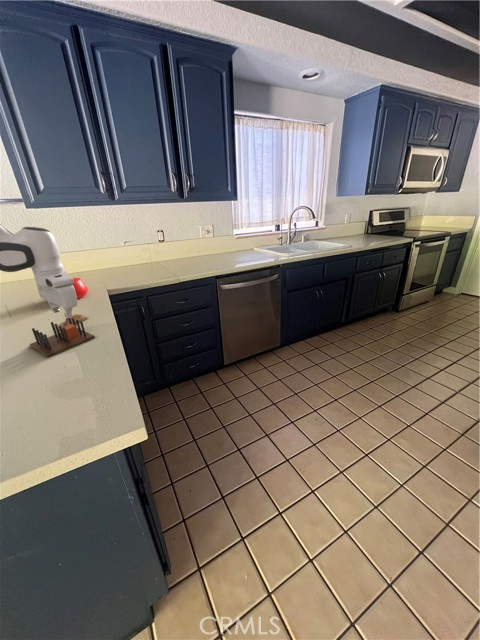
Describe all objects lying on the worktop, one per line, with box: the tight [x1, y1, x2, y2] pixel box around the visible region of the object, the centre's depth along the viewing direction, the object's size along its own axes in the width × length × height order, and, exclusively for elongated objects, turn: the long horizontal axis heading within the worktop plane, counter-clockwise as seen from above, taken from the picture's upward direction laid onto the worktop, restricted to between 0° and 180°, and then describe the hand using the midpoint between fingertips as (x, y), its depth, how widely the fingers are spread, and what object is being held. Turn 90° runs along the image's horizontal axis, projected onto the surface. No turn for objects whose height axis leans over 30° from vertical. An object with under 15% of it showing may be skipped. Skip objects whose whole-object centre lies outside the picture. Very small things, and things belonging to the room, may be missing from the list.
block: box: [61, 324, 79, 339], centre depth 99 cm, size 4×4×4 cm
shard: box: [64, 313, 88, 326], centre depth 113 cm, size 11×8×2 cm
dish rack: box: [29, 318, 95, 358], centre depth 96 cm, size 16×14×7 cm
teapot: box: [72, 277, 89, 300], centre depth 142 cm, size 25×16×12 cm, turn 26°
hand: (62, 314), depth 95 cm, fingers open, 8 cm apart
